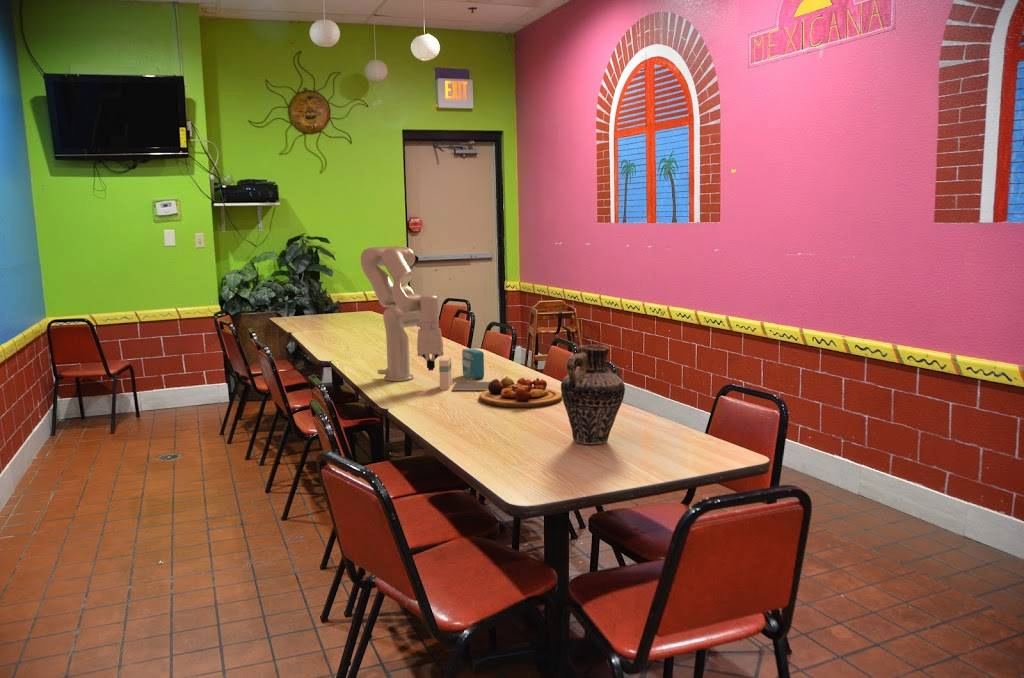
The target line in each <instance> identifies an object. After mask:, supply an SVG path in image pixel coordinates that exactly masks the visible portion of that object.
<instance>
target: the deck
mask: <svg viewBox="0 0 1024 678" xmlns="http://www.w3.org/2000/svg"><path fill="white" fill-rule="evenodd" d="M438 363H439V367H438V372H439V373H438V374H439V390H440V389H449V390H450V389H451V387H452V385H453V383H452V381H453V380H452V379H453V378H452V356H441V358H440V359H439V360H438ZM450 386H451V387H450Z"/></svg>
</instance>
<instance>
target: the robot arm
mask: <svg viewBox="0 0 1024 678" xmlns="http://www.w3.org/2000/svg"><path fill="white" fill-rule="evenodd" d="M415 261H416V256H415V253H414V251H413V250H412V249H411V248H410V247H406V246H397V245H395V246H389V245H387V246H372V247H371V246H370V247H367V248H365V249H363V250H362V251H361V254H360V265H361V269H362V271H363V273H364V275H365V277H366V278H367V279H368V281H369V282H370V284H371V287H372V289H373V292H374V294H375V296H376V299H377V300H378V302H379V304H380V305H381V306H382V307H383V308H386V309H385V310H384V311H383V315H382V317H383V319H382V320H383V323H384V329H385V339H386V361H387V368H385V369H377V373H378V375H385V376H384V377H383V379H384V380H385V381H387V382H406V381H411V380H413V379H414V374H411V372H410V371H411V369H410V365H411V363H410V342H409V341H410V340H409V339H410V338H409V335H408V333H407V331H406V330H405V328H411V327H413V328H414V327H418V328H419V329H418V330H417V341H416V342H417V344H416V345H417V346H416V348H417V349H416V351H417V354H416V356H418V357H422V358H423V359H425V362H426V368H427V369H428V371H430V372H432V371H434V369H436V368H435V366H436V365H435V364H436V363H435V361H436V359H438V357H444V355H445V354H444V351H443V350H444V342H443V336H442V335H443V334H442V329H441V328H440V320H439V318H440V317H439V316H440V315H439V298H438V296H437V295H432V294H427V293H414V290H413V289H412V288H411V287H410V286H409V285H408V283H409V282H410V281H411V280H412V279H413V275H414V274H413V271H412V270H411V268H410V267H412V266H413V265H414V264H415ZM381 267H385V268H386V270H387V272H388V273H389V275H388V273H387V272H386V271H385V270H384V269H383V268H381ZM390 277H391V278H390ZM392 281H393V282H392ZM430 355H431V358H430Z"/></svg>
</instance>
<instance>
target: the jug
mask: <svg viewBox="0 0 1024 678" xmlns="http://www.w3.org/2000/svg"><path fill="white" fill-rule="evenodd" d="M578 348H579V351H580V352H579V353H578V354H577V353H574V354H572V355H570V356H569V357H568V359H567V362H566V369H567V370H566V371H567V375H566V376H565V377H564V378H563V379H562V381H561V383H560V391H561V392H560V393H561V394H562V402H563V405H564V408H565V410H566V413H567V417H568V422H569V424H570V428H571V432H572V433H571V436H572V439H573V441H574V442H576V443H579V444H583V445H590V446H591V445H602V444H604V443H607V442H608V439H609V437H610V434H611V431H612V427H613V425H614V423H615V420H616V418H617V415H618V412H619V410H620V408H621V405H622V404H623V401H624V396H625V392H626V388H625V383H624V381H623V379H622V378H621V377H619V375H617V374H615V373H613V372H612V371H611V370H609V369H608V367H607V357H608V355H609V350H610V347H609V346H608V345H604V344H582V345H578ZM576 360H579V361H580V365H579V368H578V369H576V370H575V363H576Z"/></svg>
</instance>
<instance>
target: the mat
mask: <svg viewBox="0 0 1024 678" xmlns="http://www.w3.org/2000/svg"><path fill="white" fill-rule="evenodd" d="M490 382H491V381H456V382H455V384H454V385H453V387H452V388H451V392H484V391H487V390H488V386H489V384H490Z"/></svg>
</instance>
